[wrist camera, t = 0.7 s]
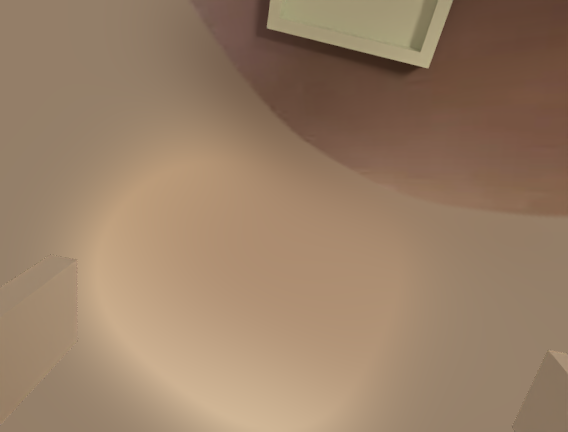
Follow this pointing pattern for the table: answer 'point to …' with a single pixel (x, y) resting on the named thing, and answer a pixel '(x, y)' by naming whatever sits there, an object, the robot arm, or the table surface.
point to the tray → (366, 25)
